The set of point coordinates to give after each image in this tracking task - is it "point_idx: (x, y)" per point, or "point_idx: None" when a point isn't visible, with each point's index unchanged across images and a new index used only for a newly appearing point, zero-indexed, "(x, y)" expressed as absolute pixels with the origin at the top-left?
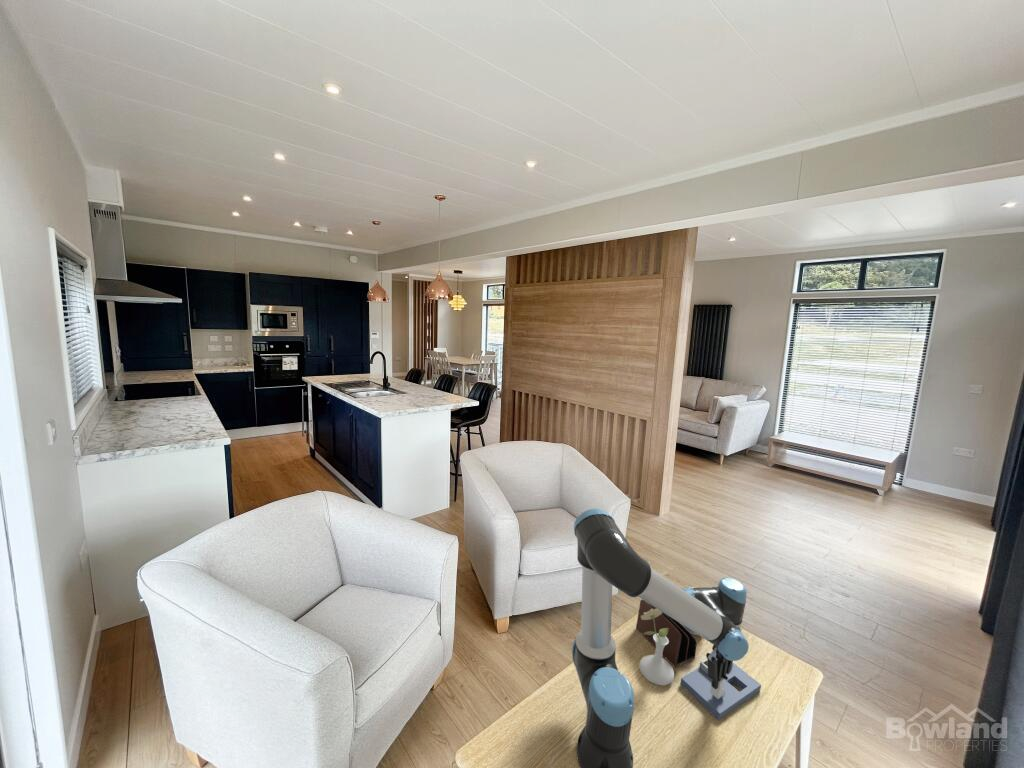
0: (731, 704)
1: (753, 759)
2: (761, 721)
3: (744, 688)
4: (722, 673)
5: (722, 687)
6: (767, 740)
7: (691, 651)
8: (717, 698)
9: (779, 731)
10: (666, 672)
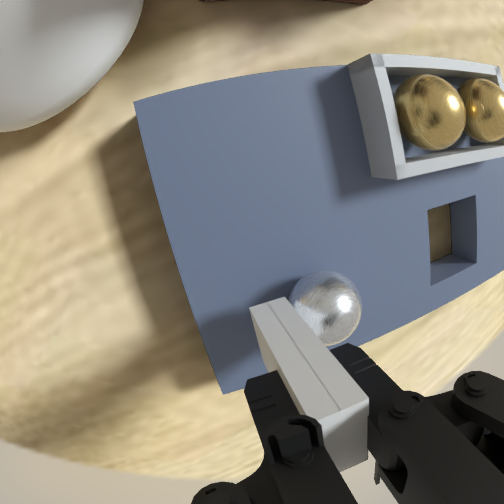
0: None
1: (240, 479)
2: (395, 374)
3: (460, 271)
4: (402, 468)
5: (357, 320)
6: None
7: None
8: (263, 361)
9: None
10: (15, 72)
